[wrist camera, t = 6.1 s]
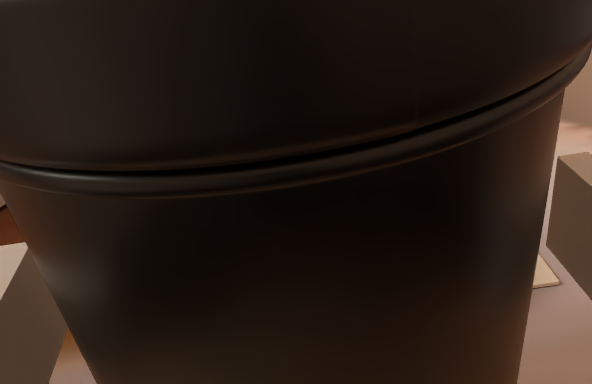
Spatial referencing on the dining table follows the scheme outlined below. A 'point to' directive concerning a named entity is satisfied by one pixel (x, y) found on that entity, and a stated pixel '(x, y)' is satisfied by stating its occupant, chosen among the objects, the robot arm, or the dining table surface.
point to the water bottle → (287, 181)
